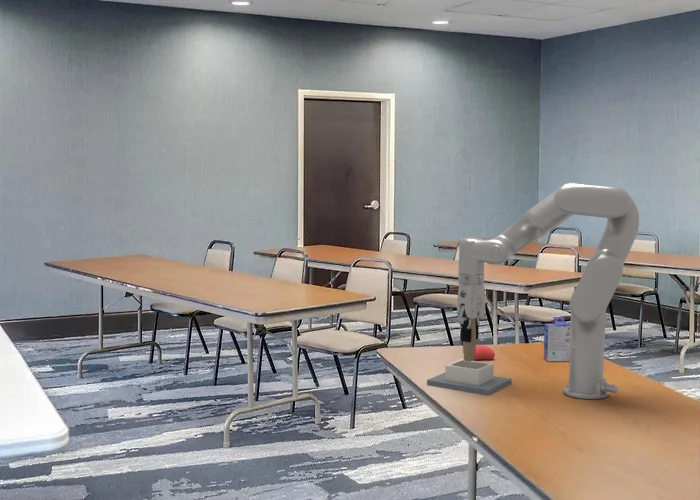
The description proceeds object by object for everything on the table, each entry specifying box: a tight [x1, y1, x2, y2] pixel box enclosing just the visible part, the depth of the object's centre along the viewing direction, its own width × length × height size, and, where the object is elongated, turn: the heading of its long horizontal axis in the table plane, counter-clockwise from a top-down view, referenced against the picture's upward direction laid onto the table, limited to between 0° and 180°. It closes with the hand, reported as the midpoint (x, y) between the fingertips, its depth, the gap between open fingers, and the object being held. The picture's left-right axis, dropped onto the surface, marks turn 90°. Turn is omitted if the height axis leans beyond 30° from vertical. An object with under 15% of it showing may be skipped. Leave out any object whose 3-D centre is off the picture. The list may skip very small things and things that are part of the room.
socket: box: [426, 358, 513, 396], centre depth 245 cm, size 20×16×6 cm
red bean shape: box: [474, 344, 496, 361], centre depth 278 cm, size 5×9×6 cm
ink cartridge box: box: [543, 316, 571, 362], centre depth 277 cm, size 10×6×14 cm, turn 94°
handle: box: [462, 312, 480, 361], centre depth 244 cm, size 5×6×15 cm
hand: (469, 339), depth 244 cm, fingers closed on handle, 3 cm apart
